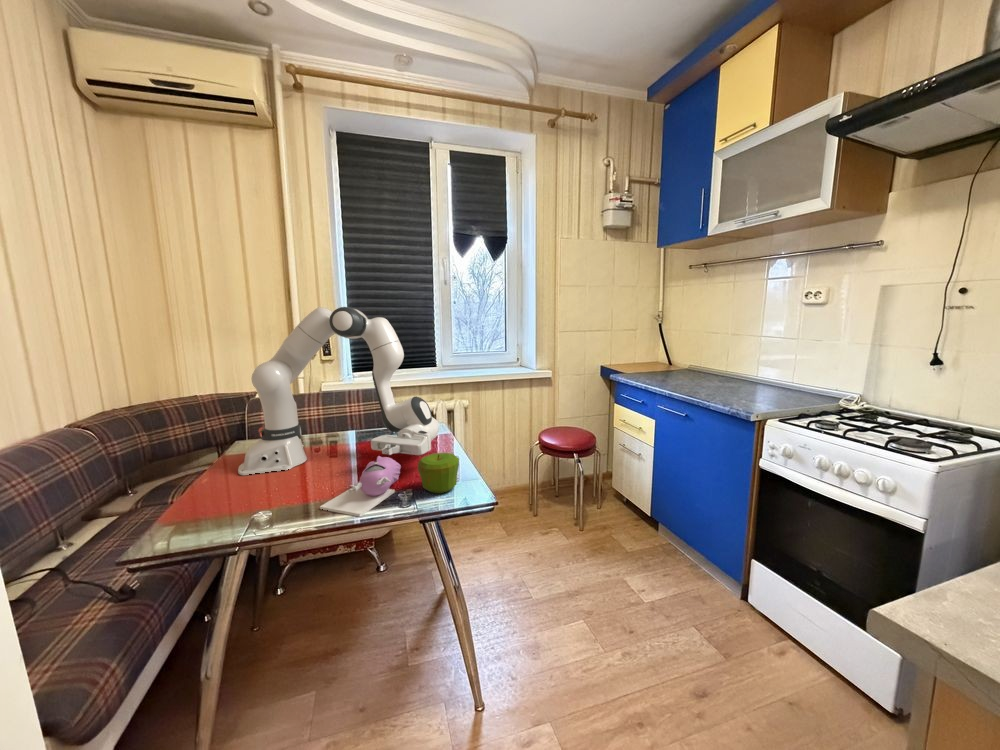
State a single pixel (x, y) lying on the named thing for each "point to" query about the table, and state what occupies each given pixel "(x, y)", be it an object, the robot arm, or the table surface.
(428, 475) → the apple
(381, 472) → the toy character
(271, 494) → the table surface
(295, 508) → the table surface
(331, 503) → the mat
